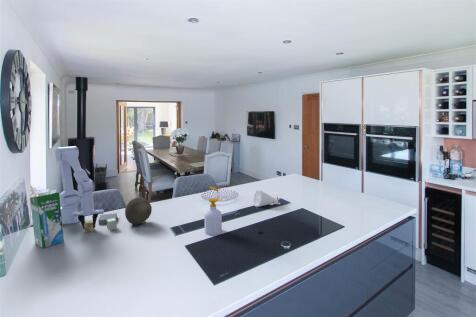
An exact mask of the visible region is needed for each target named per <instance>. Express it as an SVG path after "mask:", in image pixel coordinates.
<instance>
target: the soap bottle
mask: <svg viewBox="0 0 476 317" xmlns="http://www.w3.org/2000/svg"><path fill="white" fill-rule="evenodd" d="M209 189H210V190H213V191H216V193H219V189H218V188H217V187H214V186H211V185H210V186H209ZM208 202H209V203H210V204H209V209H207V210H206V211H205V212H204V213H203V214H204V218H203V219H204V233H205V234H206V235H209V236H217V235H220V234H221V233H222V231H223V221H222V220H223V219H222V218H223V215H222V212H221V210H219V209H218V208H217V204H216V202H219V196H217V198H208Z"/></svg>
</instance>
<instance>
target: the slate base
mask: <svg viewBox="0 0 476 317" xmlns="http://www.w3.org/2000/svg"><path fill="white" fill-rule="evenodd" d="M99 215H100V216H98V221H97V222H98V225H107V224H106V223H107V221H106V220H107V219H112V218H115V219H116V221H117V220H118V212H115V213H106V214H99Z"/></svg>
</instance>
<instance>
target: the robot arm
mask: <svg viewBox="0 0 476 317" xmlns="http://www.w3.org/2000/svg"><path fill="white" fill-rule="evenodd" d="M54 152H55V161H56V162H57V163H59V165H60V166H59V167H60V174H61V181H62V191H61V192H59V197H60V207H61V217H62V225H70V224H77V223H81V226H82V229H83V230H85V228H84V223H85V221H86V216H92V220H93V228H94V229H96V222H97V219H98V218H99V215H104V213H105V212H104V209H95V205H94V204H95V203H94V191H95V183H94V181H93V180H92V179H91V178H89V176H88V173H87V172H86V170H85V169H83V168H82V167H81V164H80V160H79V156H80V155H79V154H80V153H79V152H80V151H79V148H78V147H77V146H76V145H74V146H63V147H62V146H61V147H60V146H59V147H56V149H55V151H54ZM72 170H73V176H72ZM73 177H74V178H75V179H74V180H75V181H76V183H77V190H76V189H74V184H73ZM80 204H81V206H80V207H81V210H80V211H79V210H78V207H79V205H80Z"/></svg>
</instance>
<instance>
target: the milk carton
mask: <svg viewBox="0 0 476 317" xmlns="http://www.w3.org/2000/svg"><path fill="white" fill-rule="evenodd" d="M59 194H60V192H59V191H58V192H53V193H49V192H48V191H44V192H40V193H37V196H34V197H33V196H32V197H29V201H30V202H29V203H30V211H31V219H32V227H33V236H34V244H36V245H37V246H39V247H41V248H42V249H46V248H48V247H52V246H54V245H57V244H60V243H62V242H65V239H64V229H63V228H64V227H63V224H62V217H61V207H60V197H59Z"/></svg>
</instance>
